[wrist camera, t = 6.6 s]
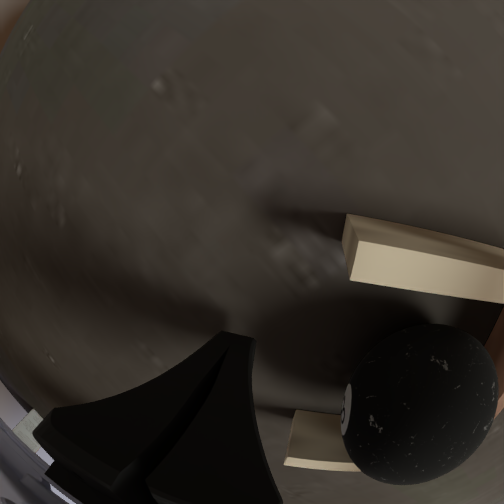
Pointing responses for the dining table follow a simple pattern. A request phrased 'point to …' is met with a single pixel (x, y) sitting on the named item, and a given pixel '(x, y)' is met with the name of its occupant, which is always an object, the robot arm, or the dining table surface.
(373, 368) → the billiard ball
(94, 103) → the dining table surface
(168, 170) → the dining table surface
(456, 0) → the dining table surface
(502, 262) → the wooden u-shaped frame
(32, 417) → the small box
